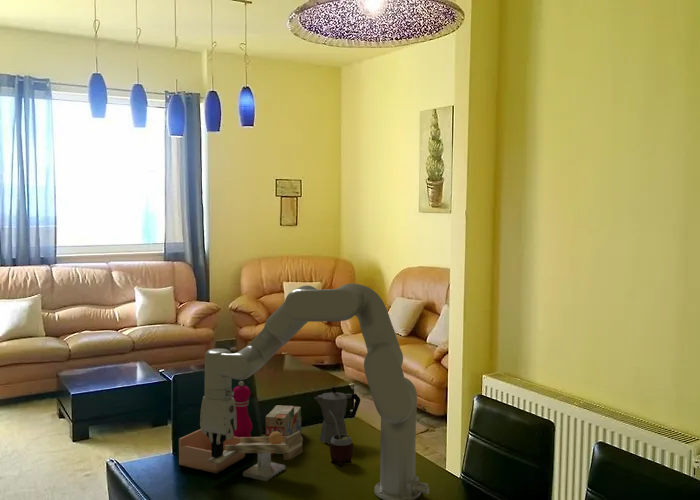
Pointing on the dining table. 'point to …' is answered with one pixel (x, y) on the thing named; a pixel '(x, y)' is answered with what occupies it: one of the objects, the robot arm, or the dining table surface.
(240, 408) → the pepper mill
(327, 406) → the coffeepot
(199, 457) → the pink open box
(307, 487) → the dining table surface
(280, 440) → the ball
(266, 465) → the pivot stand
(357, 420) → the dining table surface
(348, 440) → the mate gourd
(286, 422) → the stack of blocks
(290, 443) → the tray
